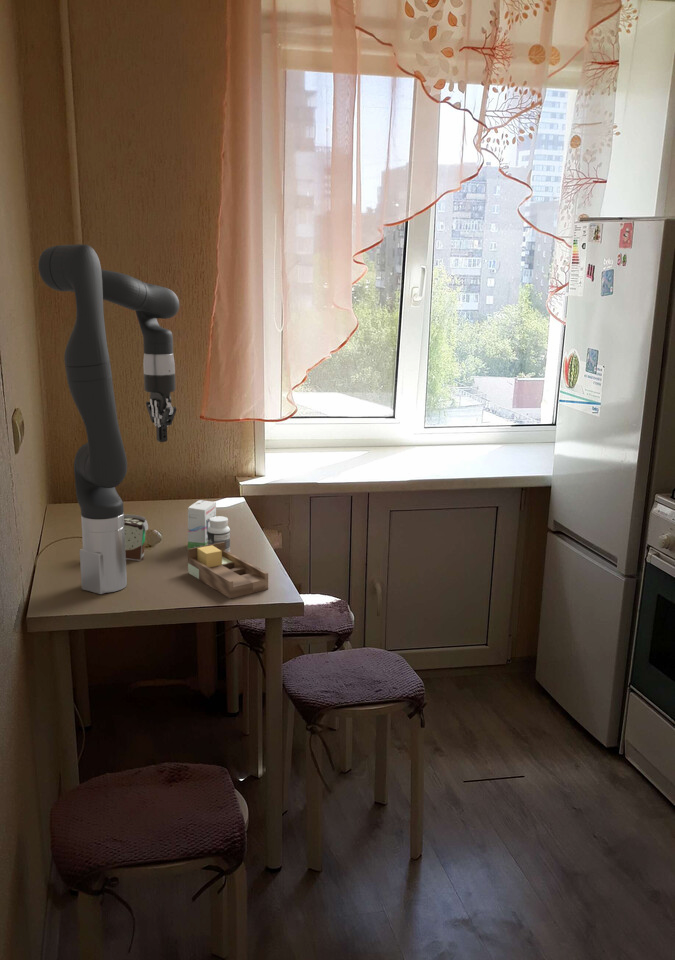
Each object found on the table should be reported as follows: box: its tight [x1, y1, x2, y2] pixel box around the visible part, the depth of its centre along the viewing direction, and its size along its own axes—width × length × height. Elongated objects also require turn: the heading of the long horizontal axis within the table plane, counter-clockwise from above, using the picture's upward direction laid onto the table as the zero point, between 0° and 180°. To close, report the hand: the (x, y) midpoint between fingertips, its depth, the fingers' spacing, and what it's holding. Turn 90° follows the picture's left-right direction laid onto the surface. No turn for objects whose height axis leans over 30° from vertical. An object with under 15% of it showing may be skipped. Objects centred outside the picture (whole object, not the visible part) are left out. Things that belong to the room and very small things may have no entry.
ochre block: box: [197, 545, 222, 567], centre depth 198 cm, size 5×4×4 cm
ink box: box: [187, 499, 217, 550], centre depth 217 cm, size 9×5×12 cm, turn 168°
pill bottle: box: [207, 515, 231, 553], centre depth 211 cm, size 6×6×10 cm
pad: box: [187, 556, 232, 580], centre depth 200 cm, size 6×9×2 cm, turn 127°
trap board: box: [187, 542, 269, 599], centre depth 194 cm, size 20×10×6 cm, turn 37°
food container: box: [124, 514, 149, 562], centre depth 210 cm, size 12×6×10 cm, turn 74°
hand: (162, 441), depth 207 cm, fingers closed
